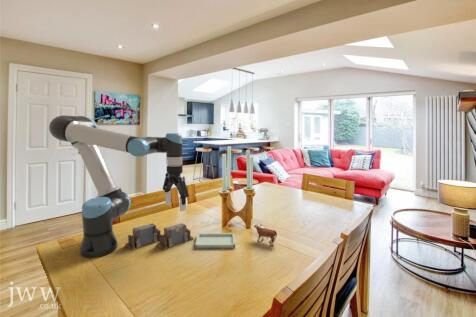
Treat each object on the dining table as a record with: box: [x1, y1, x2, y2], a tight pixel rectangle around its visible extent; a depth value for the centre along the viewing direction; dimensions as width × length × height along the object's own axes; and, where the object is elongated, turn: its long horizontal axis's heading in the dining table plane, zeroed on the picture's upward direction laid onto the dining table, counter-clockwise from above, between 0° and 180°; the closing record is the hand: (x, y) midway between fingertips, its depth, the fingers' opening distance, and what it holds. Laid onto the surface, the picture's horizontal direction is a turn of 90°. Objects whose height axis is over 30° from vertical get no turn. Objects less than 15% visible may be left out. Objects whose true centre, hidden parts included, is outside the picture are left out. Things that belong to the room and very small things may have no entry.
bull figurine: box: [253, 222, 278, 246], centre depth 125 cm, size 4×13×8 cm, turn 51°
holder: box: [124, 227, 161, 251], centre depth 122 cm, size 16×6×5 cm, turn 133°
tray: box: [194, 232, 236, 250], centre depth 124 cm, size 19×13×2 cm
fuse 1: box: [132, 222, 157, 248], centre depth 122 cm, size 10×4×8 cm, turn 133°
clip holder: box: [156, 227, 194, 251], centre depth 123 cm, size 16×6×5 cm, turn 133°
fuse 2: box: [163, 222, 187, 248], centre depth 123 cm, size 10×4×8 cm, turn 133°
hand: (175, 207), depth 124 cm, fingers open, 13 cm apart
